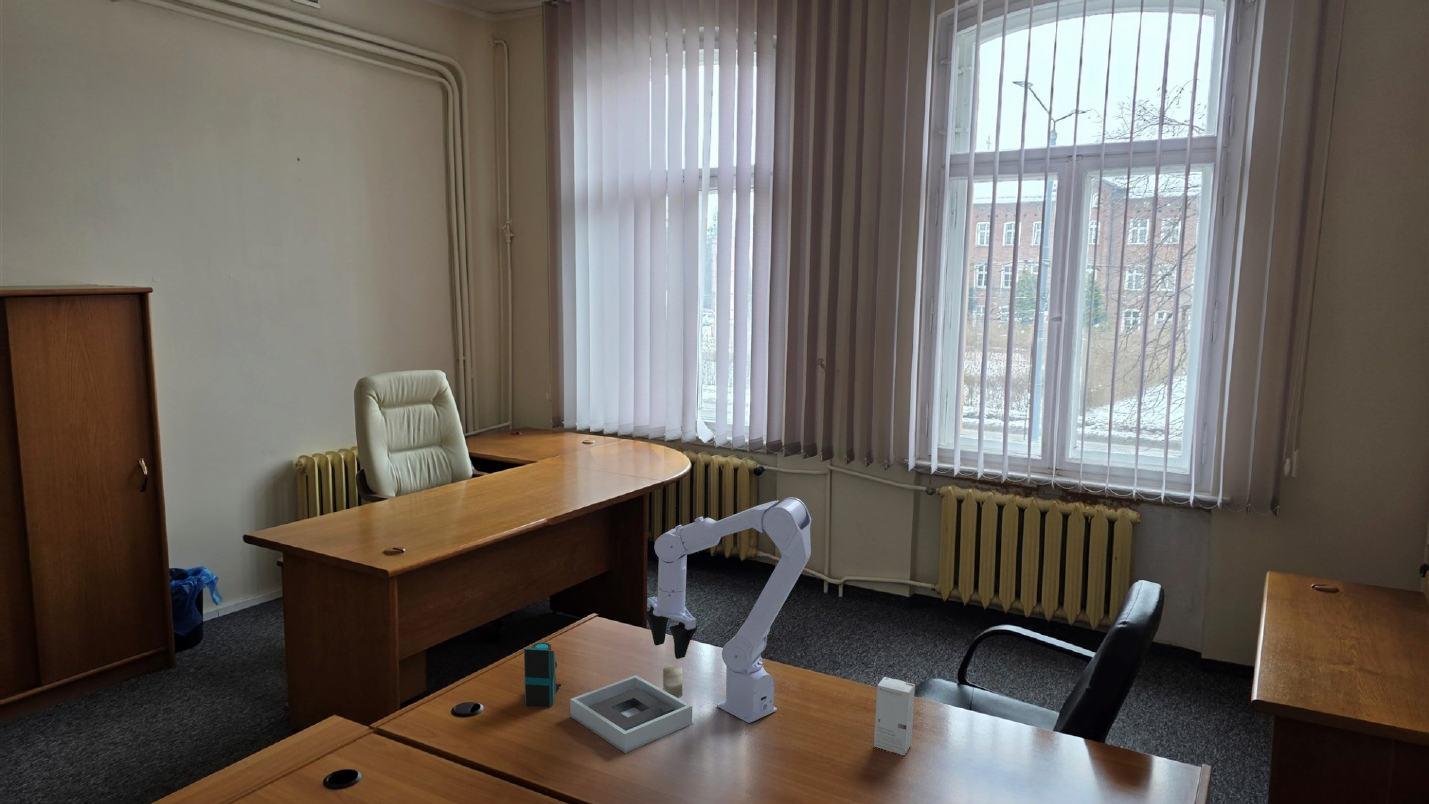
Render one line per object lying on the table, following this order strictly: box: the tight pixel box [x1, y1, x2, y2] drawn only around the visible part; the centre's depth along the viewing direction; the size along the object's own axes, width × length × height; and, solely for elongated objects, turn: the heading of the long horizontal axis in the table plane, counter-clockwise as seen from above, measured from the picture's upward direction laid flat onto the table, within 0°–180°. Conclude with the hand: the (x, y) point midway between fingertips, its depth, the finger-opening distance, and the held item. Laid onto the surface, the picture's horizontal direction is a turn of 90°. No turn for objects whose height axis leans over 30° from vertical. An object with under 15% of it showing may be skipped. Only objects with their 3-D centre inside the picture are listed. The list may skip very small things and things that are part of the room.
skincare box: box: [873, 676, 916, 755], centre depth 152 cm, size 6×4×12 cm
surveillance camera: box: [523, 642, 562, 709], centre depth 171 cm, size 6×12×10 cm
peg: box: [662, 664, 683, 699], centre depth 173 cm, size 4×4×6 cm
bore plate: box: [587, 688, 674, 731], centre depth 162 cm, size 12×12×2 cm
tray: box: [569, 675, 693, 754], centre depth 162 cm, size 18×16×4 cm
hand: (669, 650), depth 173 cm, fingers open, 7 cm apart
